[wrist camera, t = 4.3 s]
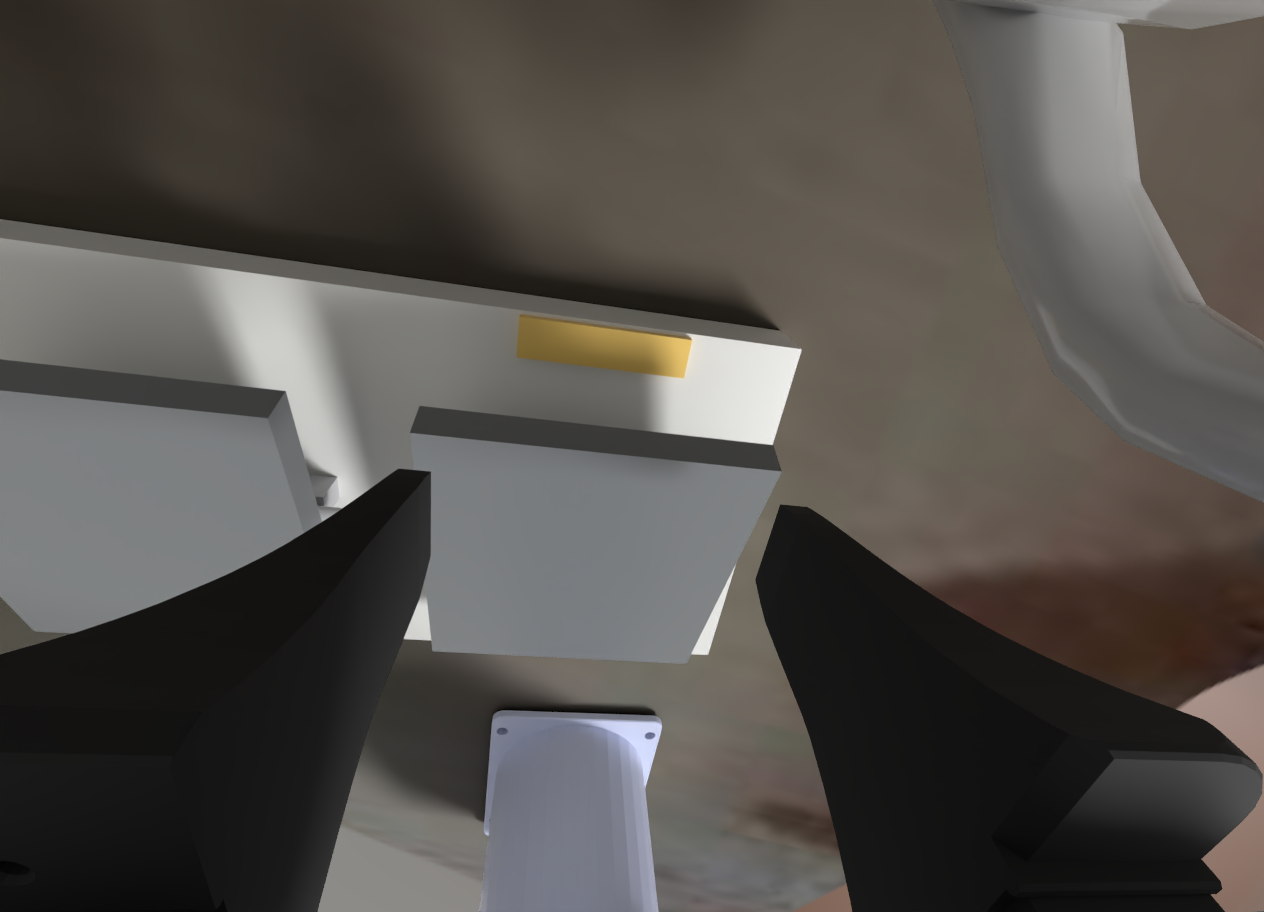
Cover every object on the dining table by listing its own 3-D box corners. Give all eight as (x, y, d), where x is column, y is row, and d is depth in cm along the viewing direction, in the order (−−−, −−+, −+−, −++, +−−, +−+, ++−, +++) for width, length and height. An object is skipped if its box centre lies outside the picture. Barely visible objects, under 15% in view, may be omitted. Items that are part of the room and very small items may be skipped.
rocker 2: (688, 623, 23) (694, 664, 21) (433, 607, 21) (423, 650, 20) (777, 429, 16) (792, 473, 15) (413, 386, 14) (395, 431, 13)
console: (698, 619, 25) (714, 678, 23) (81, 581, 22) (9, 646, 19) (781, 330, 19) (816, 362, 17) (-48, 212, 16) (-182, 226, 13)
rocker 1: (364, 603, 21) (349, 647, 19) (60, 584, 19) (23, 630, 18) (310, 375, 14) (282, 419, 13) (-161, 320, 13) (-245, 365, 11)
